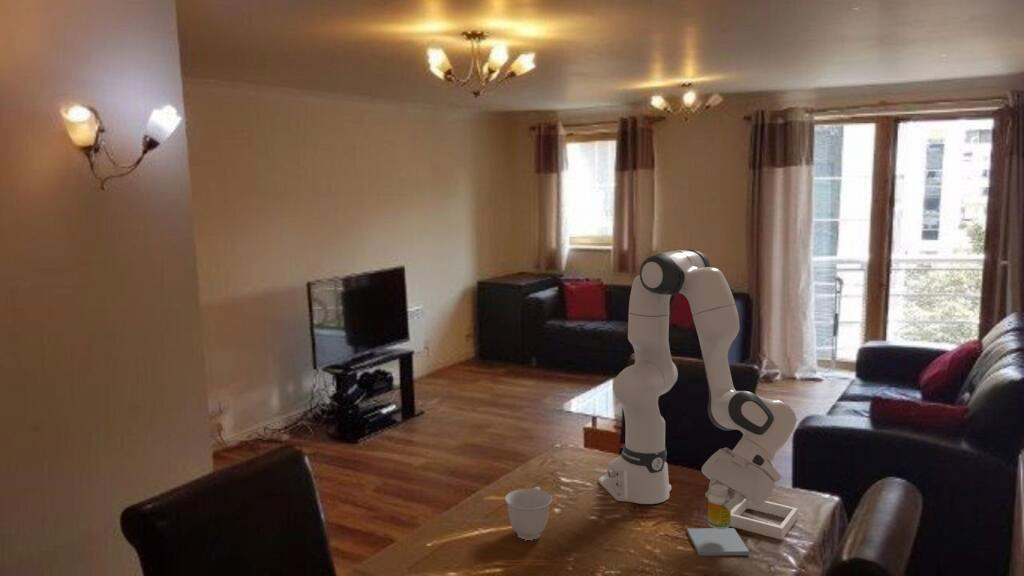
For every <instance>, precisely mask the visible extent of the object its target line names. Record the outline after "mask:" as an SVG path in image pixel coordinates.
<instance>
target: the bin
mask: <svg viewBox="0 0 1024 576" xmlns="http://www.w3.org/2000/svg"><path fill="white" fill-rule="evenodd" d="M747 509H749V510H753V511H757V512H761V513H764V514H768V513H769V514H768V515H772V514H773V515H772V516H776V515H777V517H780V518H783V521H782V522H781V523H780V525H778V524H777V525H776V524H773V523H769V522H765V521H761V520H758V519H754V518H751V517H750V518H749V517H746V516H742V515H743V513H744V512H745V511H746V510H747ZM798 509H799V508H797V507H793V506H790V505H786V504H785V505H784V504H780V503H777V502H773V501H772V502H771V501H769V500H766V501H765V502H764V503H763V504H761V505H759V506H758V505H756V504H754V503H752V502H750V501H748V500H747V499H744V500H743V502H742V503H740V504H738V505H736V506H734V507H733V509H732V510H731V518H730V527H731V528H734V529H735V528H736V529H740V530H744V531H748V532H752V533H754V534H758V535H762V536H767V537H770V538H774V539H776V540H780V541H781V540H783V539H784V538H785V536H786V535H787V534H788V532H789V531H790V530H791V528H792V527H793V526H794V525H795V523H796V522H797V520H798V513H799V510H798Z"/></svg>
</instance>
